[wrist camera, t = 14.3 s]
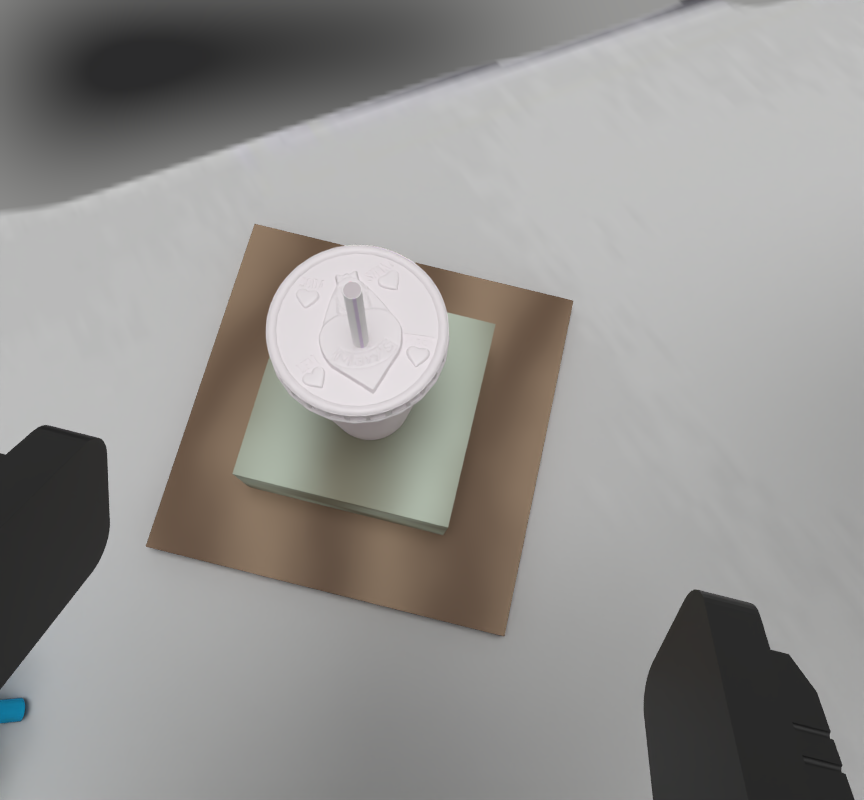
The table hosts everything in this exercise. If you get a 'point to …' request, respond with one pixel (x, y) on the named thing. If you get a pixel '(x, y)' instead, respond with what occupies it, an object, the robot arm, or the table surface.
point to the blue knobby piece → (12, 710)
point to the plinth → (351, 539)
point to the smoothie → (358, 337)
